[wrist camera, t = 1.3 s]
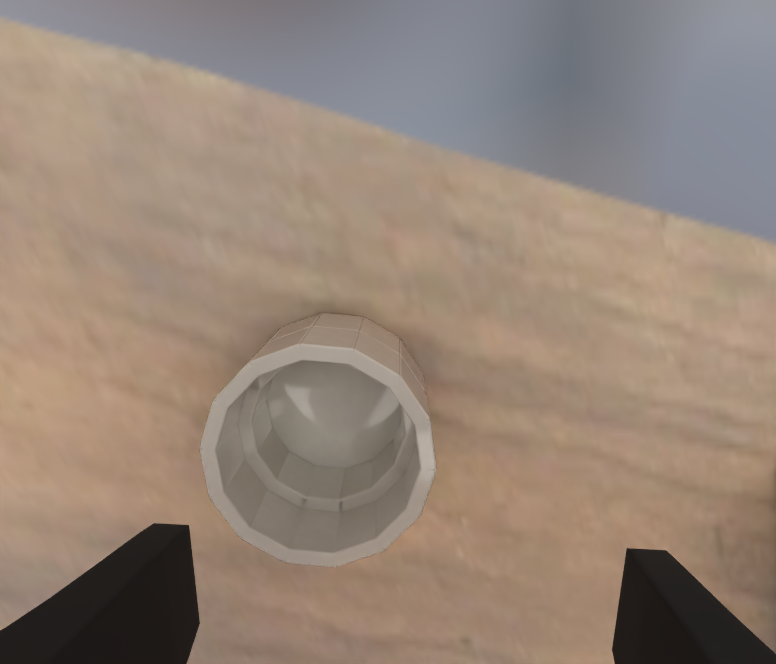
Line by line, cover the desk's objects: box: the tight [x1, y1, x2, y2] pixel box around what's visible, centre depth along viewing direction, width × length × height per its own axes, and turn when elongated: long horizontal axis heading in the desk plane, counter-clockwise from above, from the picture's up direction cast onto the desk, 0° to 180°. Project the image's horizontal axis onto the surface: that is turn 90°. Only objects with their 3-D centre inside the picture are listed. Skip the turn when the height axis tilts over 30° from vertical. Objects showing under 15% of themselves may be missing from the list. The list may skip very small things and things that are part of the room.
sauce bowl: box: [200, 313, 437, 567], centre depth 18 cm, size 6×6×5 cm
